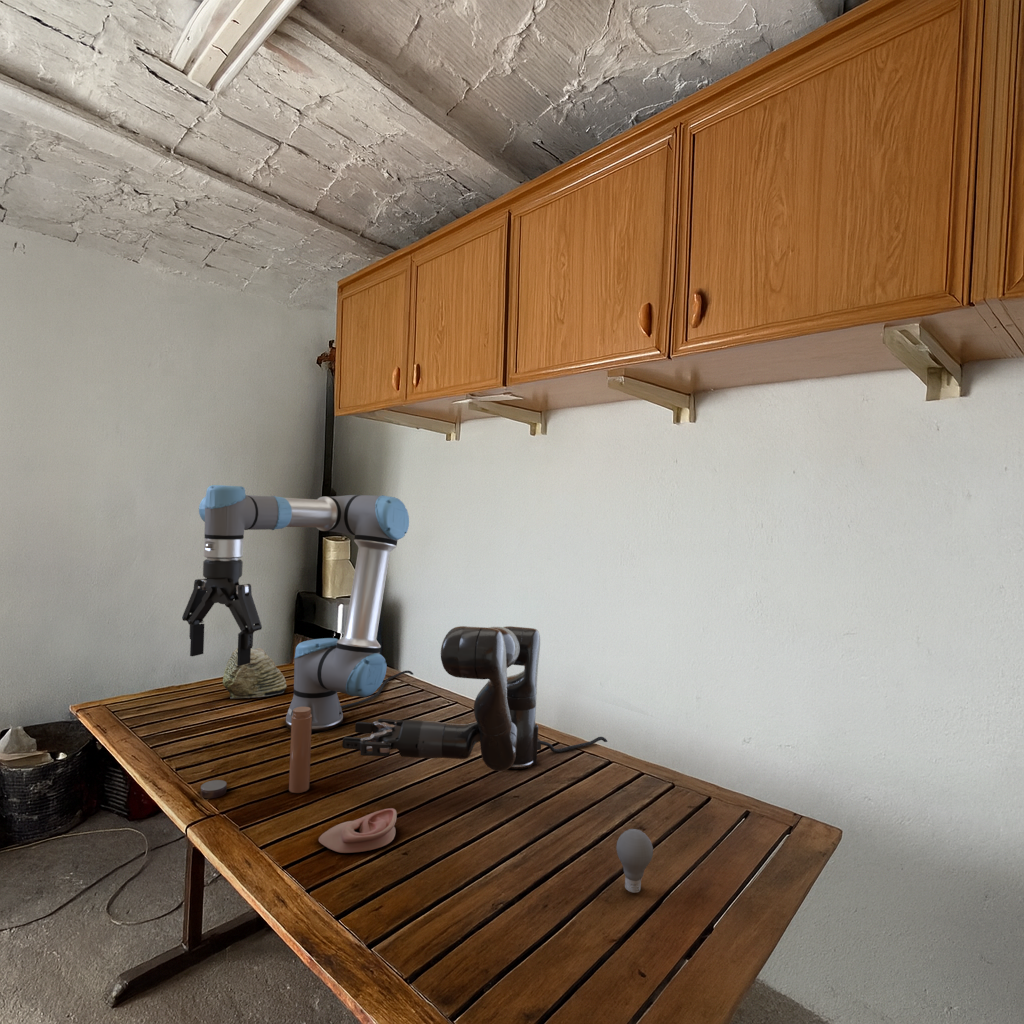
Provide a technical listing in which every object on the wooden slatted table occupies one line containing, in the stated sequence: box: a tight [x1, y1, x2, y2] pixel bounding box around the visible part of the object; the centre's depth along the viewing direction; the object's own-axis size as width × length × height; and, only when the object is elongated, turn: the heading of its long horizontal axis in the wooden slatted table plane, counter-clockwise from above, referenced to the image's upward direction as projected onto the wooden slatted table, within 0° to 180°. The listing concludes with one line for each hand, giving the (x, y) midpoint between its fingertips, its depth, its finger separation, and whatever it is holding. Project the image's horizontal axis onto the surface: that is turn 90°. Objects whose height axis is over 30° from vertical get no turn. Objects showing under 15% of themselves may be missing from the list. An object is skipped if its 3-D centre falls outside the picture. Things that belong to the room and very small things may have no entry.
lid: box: [200, 779, 228, 799], centre depth 133 cm, size 5×5×2 cm
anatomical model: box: [318, 807, 398, 854], centre depth 118 cm, size 13×4×12 cm
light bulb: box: [615, 828, 654, 894], centre depth 106 cm, size 6×6×10 cm
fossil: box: [222, 647, 288, 699], centre depth 198 cm, size 9×18×15 cm, turn 132°
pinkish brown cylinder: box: [288, 707, 312, 794], centre depth 137 cm, size 4×4×17 cm
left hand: (219, 659), depth 133 cm, fingers open, 13 cm apart
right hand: (349, 734), depth 137 cm, fingers open, 8 cm apart
